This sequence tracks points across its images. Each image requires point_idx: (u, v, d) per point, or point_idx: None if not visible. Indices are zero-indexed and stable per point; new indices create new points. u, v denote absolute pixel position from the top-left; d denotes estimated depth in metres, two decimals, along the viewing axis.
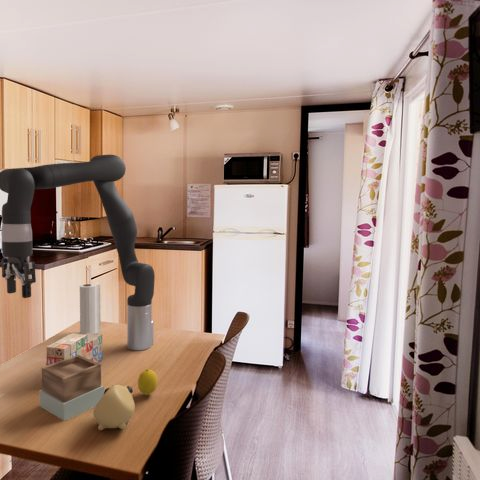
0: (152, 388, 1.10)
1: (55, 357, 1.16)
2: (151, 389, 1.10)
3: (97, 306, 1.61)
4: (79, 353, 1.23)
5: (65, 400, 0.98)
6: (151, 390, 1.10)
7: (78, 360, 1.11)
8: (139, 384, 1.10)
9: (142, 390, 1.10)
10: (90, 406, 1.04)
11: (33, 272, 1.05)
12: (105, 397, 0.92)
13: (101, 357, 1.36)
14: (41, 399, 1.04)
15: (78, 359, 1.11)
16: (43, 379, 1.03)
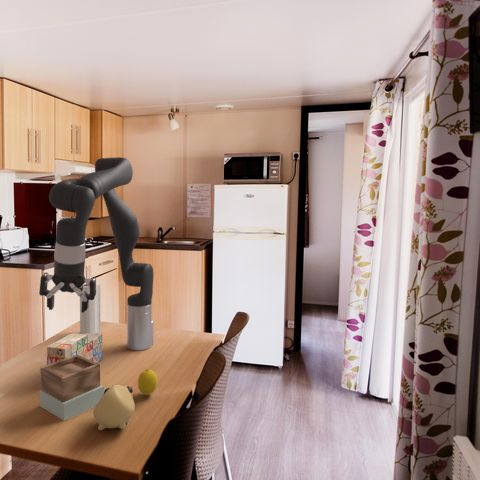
0: (152, 388, 1.10)
1: (56, 357, 1.16)
2: (151, 389, 1.10)
3: (97, 306, 1.61)
4: (79, 353, 1.23)
5: (64, 400, 0.98)
6: (151, 390, 1.10)
7: (77, 360, 1.11)
8: (139, 384, 1.10)
9: (142, 390, 1.10)
10: (90, 406, 1.04)
11: (95, 287, 1.06)
12: (105, 397, 0.92)
13: (101, 357, 1.36)
14: (41, 399, 1.04)
15: (77, 359, 1.11)
16: (42, 379, 1.04)
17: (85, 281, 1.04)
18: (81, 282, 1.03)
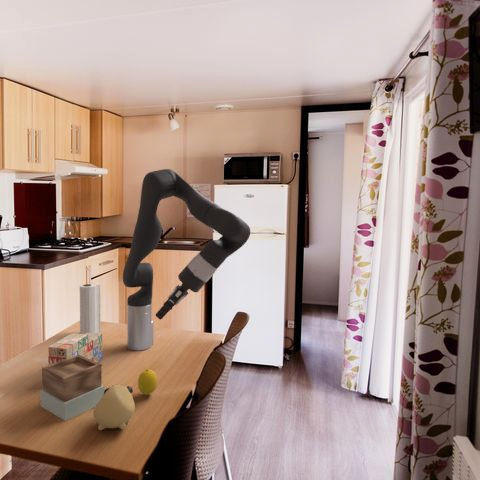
0: (152, 388, 1.10)
1: (58, 357, 1.16)
2: (151, 389, 1.10)
3: (97, 306, 1.61)
4: (80, 353, 1.23)
5: (65, 400, 0.98)
6: (151, 390, 1.10)
7: (79, 360, 1.11)
8: (139, 384, 1.10)
9: (142, 390, 1.10)
10: (91, 406, 1.04)
11: None
12: (105, 397, 0.92)
13: (101, 356, 1.36)
14: (42, 399, 1.04)
15: (79, 359, 1.11)
16: (44, 379, 1.04)
17: None
18: None
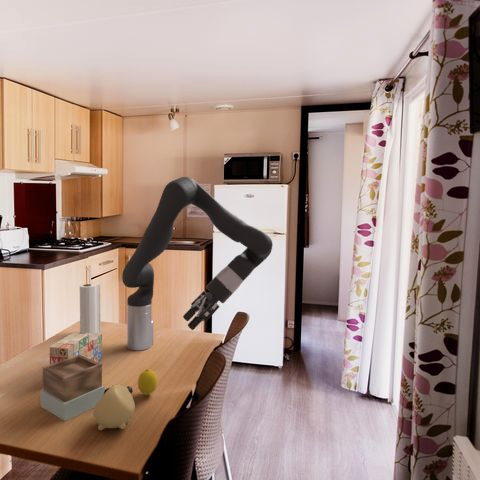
0: (152, 388, 1.10)
1: (59, 357, 1.16)
2: (151, 389, 1.10)
3: (97, 306, 1.61)
4: (81, 352, 1.23)
5: (66, 400, 0.98)
6: (151, 390, 1.10)
7: (79, 360, 1.11)
8: (139, 384, 1.10)
9: (142, 390, 1.10)
10: (91, 406, 1.04)
11: None
12: (105, 397, 0.92)
13: (101, 356, 1.37)
14: (42, 399, 1.04)
15: (79, 359, 1.11)
16: (44, 379, 1.04)
17: None
18: None
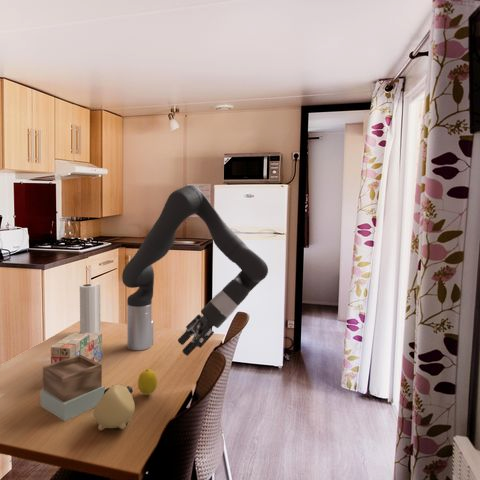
0: (152, 388, 1.10)
1: (61, 357, 1.16)
2: (151, 389, 1.10)
3: (97, 306, 1.61)
4: (82, 352, 1.23)
5: (65, 400, 0.98)
6: (151, 390, 1.10)
7: (80, 360, 1.11)
8: (139, 384, 1.10)
9: (142, 390, 1.10)
10: (91, 406, 1.04)
11: None
12: (105, 397, 0.92)
13: (101, 356, 1.37)
14: (42, 399, 1.04)
15: (80, 359, 1.11)
16: (44, 378, 1.04)
17: None
18: None
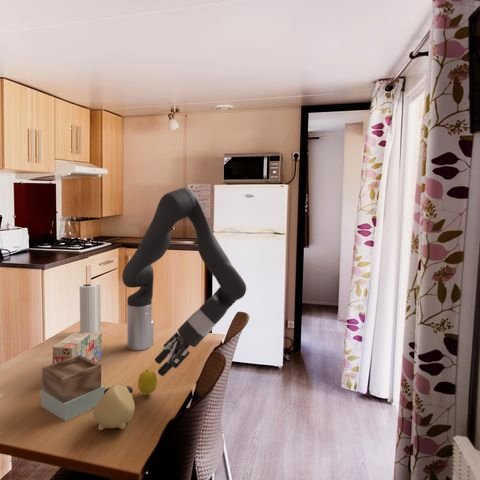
0: (152, 388, 1.10)
1: (62, 357, 1.16)
2: (151, 389, 1.10)
3: (97, 306, 1.61)
4: (83, 352, 1.24)
5: (64, 400, 0.98)
6: (151, 390, 1.10)
7: (79, 360, 1.11)
8: (139, 384, 1.10)
9: (142, 390, 1.10)
10: (91, 406, 1.04)
11: None
12: (105, 397, 0.92)
13: (101, 356, 1.37)
14: (42, 399, 1.04)
15: (79, 359, 1.11)
16: (44, 379, 1.04)
17: None
18: None
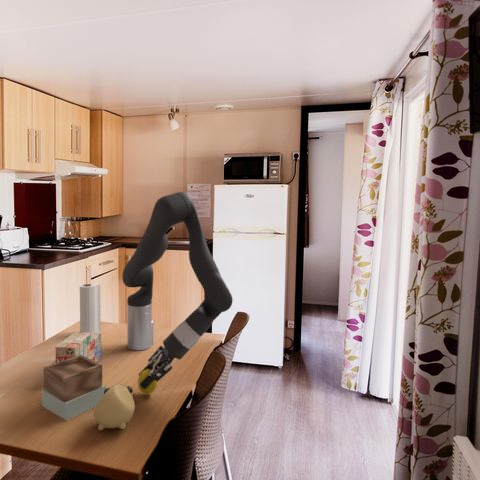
0: (152, 388, 1.10)
1: (66, 357, 1.16)
2: (151, 389, 1.10)
3: (97, 306, 1.61)
4: (85, 351, 1.24)
5: (65, 400, 0.98)
6: (151, 390, 1.10)
7: (80, 360, 1.11)
8: (139, 384, 1.10)
9: (142, 390, 1.10)
10: (92, 406, 1.04)
11: None
12: (105, 397, 0.92)
13: (100, 355, 1.38)
14: (43, 399, 1.04)
15: (80, 359, 1.11)
16: (45, 378, 1.04)
17: None
18: None
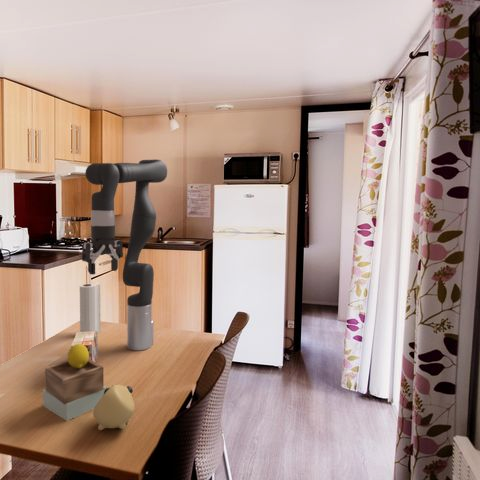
0: (88, 355, 1.08)
1: None
2: (87, 356, 1.07)
3: (97, 306, 1.61)
4: (94, 349, 1.27)
5: (65, 402, 0.98)
6: (87, 357, 1.07)
7: None
8: (75, 350, 1.06)
9: (80, 354, 1.05)
10: (93, 407, 1.04)
11: None
12: (105, 397, 0.92)
13: (97, 353, 1.40)
14: (44, 399, 1.04)
15: None
16: (46, 379, 1.04)
17: (115, 242, 1.29)
18: (114, 243, 1.28)
